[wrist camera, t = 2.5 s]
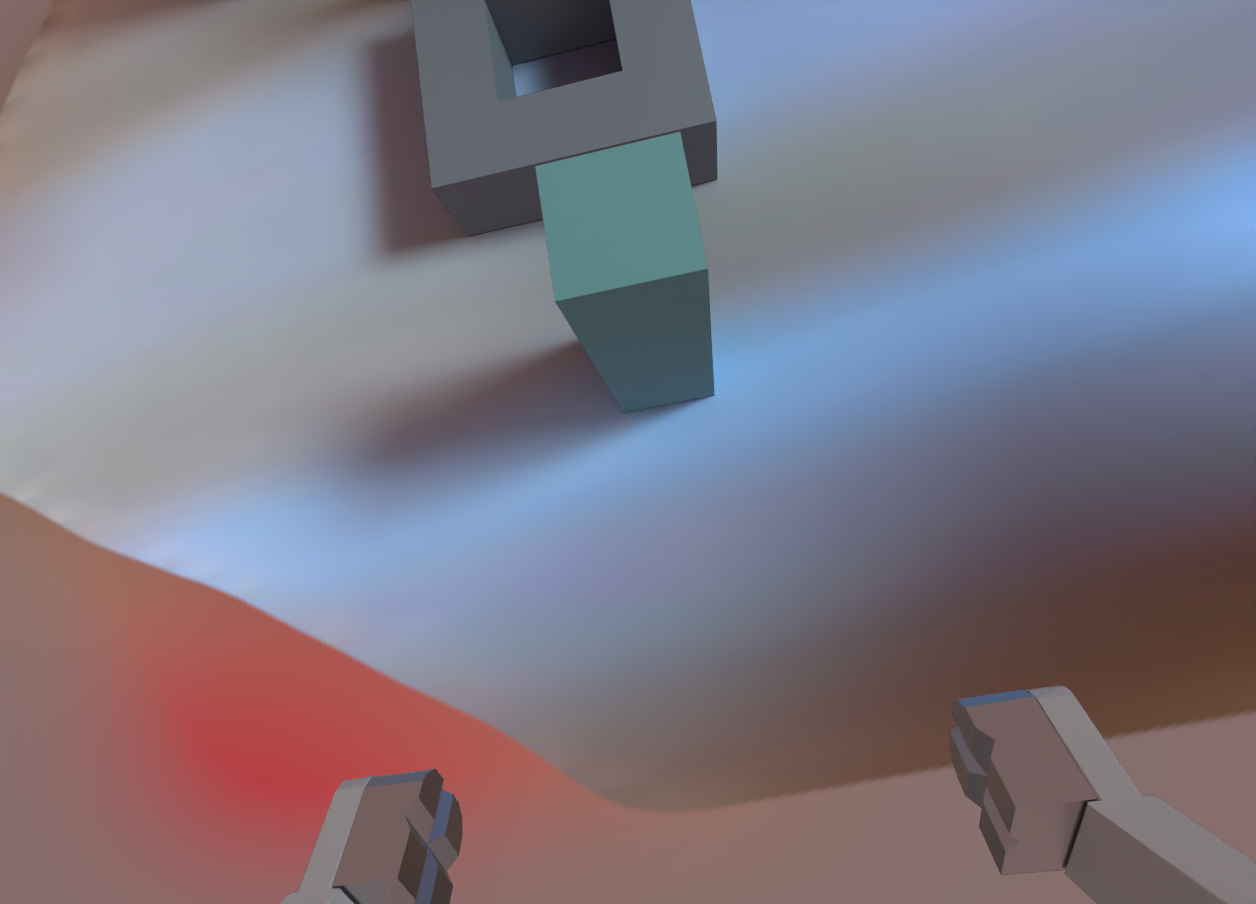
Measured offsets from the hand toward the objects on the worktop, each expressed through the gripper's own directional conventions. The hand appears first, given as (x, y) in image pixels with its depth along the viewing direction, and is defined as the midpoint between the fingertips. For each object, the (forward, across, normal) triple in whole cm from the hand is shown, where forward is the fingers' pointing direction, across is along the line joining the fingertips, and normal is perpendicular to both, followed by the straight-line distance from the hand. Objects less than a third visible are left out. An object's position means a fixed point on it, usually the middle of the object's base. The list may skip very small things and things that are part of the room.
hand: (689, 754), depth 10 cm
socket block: (+30, +2, -7) cm, 31 cm away
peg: (+20, 0, +3) cm, 21 cm away
